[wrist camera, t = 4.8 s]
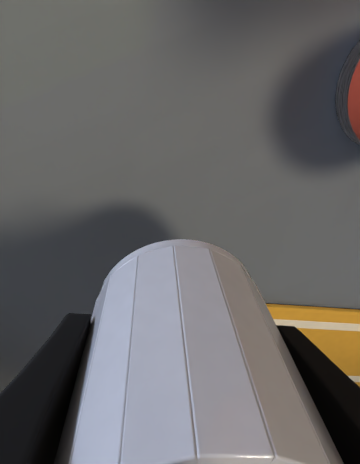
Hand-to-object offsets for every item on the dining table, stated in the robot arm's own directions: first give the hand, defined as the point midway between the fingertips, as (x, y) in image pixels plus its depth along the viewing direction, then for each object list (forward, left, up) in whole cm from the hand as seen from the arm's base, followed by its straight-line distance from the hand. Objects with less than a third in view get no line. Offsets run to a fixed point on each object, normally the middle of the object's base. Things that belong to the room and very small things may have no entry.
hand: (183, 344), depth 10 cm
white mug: (0, +1, -2) cm, 2 cm away
